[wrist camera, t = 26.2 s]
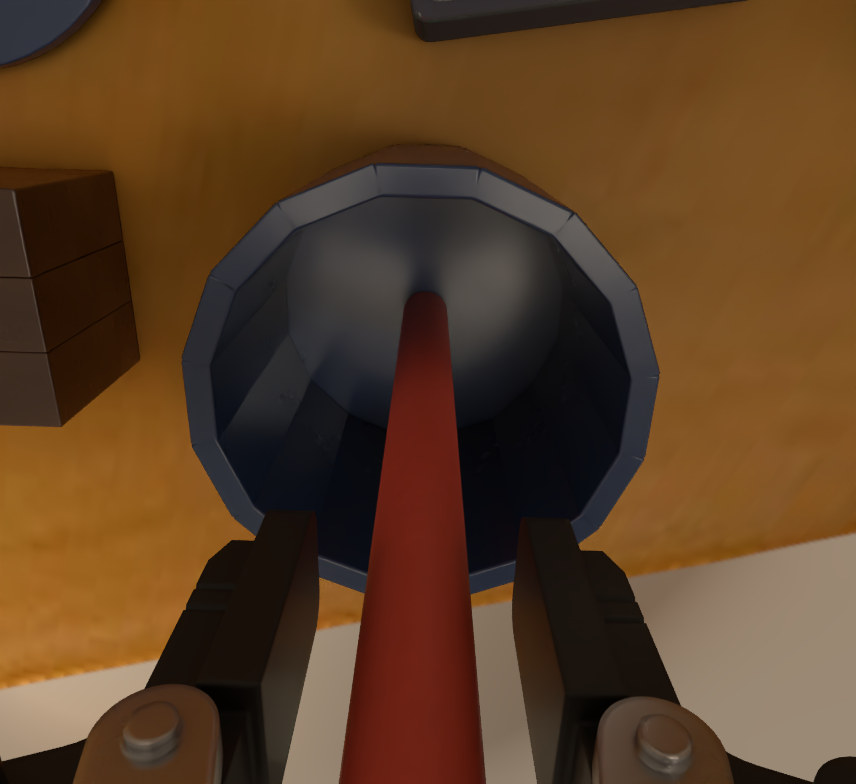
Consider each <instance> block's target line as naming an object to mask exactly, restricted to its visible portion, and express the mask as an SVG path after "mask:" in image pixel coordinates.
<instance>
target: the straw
mask: <svg viewBox="0 0 856 784" xmlns="http://www.w3.org/2000/svg"><path fill="white" fill-rule="evenodd" d="M339 784H486V778H485V767H484V754H483V742H482V729H481V717H480V706H479V694H478V681H477V669H476V656H475V644H474V632H473V620H472V608H471V596H470V584H469V572H468V559H467V547H466V535H465V523H464V511H463V499H462V487H461V474H460V462H459V450H458V438H457V426H456V414H455V402H454V389H453V377H452V365H451V353H450V341H449V329H448V317H447V308H446V305H445V303H444V301H443V300H442V299H441V298H440V297H439V296H438V295H436V294H434V293H432V292H419V293H416V294H414V295H413V296H411V297H410V298H409V299H408V300H407V302H406V304H405V306H404V311H403V319H402V326H401V333H400V340H399V348H398V355H397V362H396V370H395V377H394V384H393V391H392V399H391V406H390V413H389V421H388V428H387V435H386V443H385V450H384V457H383V464H382V472H381V479H380V486H379V494H378V501H377V508H376V516H375V523H374V530H373V537H372V545H371V552H370V559H369V567H368V574H367V581H366V589H365V596H364V603H363V610H362V618H361V625H360V633H359V640H358V647H357V654H356V662H355V669H354V676H353V683H352V691H351V699H350V705H349V713H348V720H347V727H346V735H345V742H344V749H343V756H342V764H341V771H340V778H339Z"/></svg>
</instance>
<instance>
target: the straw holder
mask: <svg viewBox="0 0 856 784" xmlns="http://www.w3.org/2000/svg"><path fill="white" fill-rule="evenodd" d="M121 240H122V233H121V226H120V219H119V212H118V205H117V198H116V191H115V185H114V178H113V173H112V172H111V171H97V170H67V169H37V168H7V167H0V425H12V426H46V427H62V426H63V425H64V424H65V423H67V422H68V421H69V420H70V419H71V418H72V417H74V416H75V415H76V414H77V413H78V412H80V411H81V410H82V409H83V408H84V407H85V406H87V405H88V404H89V403H90V402H91V401H92V400H94V399H95V398H96V397H97V396H98V395H100V394H101V393H102V392H103V391H104V390H105V389H107V388H108V387H109V386H110V385H111V384H112V383H114V382H115V381H116V380H117V379H118V378H120V377H121V376H122V375H123V374H124V373H125V372H127V371H128V370H129V369H130V368H131V367H132V366H134V365H135V364H136V363H137V362H138V361H139V360H140V358H139V351H138V344H137V337H136V330H135V323H134V316H133V309H132V302H131V301H130V300H131V295H130V288H129V281H128V274H127V267H126V260H125V253H124V246H123V242H122V241H121Z"/></svg>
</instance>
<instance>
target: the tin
mask: <svg viewBox="0 0 856 784" xmlns="http://www.w3.org/2000/svg"><path fill="white" fill-rule="evenodd" d="M419 292H432V293H434V294H436V295H438V296H439V297H440V298H441V299H442V300H443V301H444V303H445V305H446V308H447V317H448V329H449V341H450V353H451V365H452V377H453V389H454V402H455V414H456V426H457V438H458V450H459V462H460V474H461V487H462V499H463V511H464V523H465V535H466V547H467V559H468V572H469V584H470V594H474V593H477V592H480V591H484V590H487V589H490V588H494V587H497V586H500V585H504V584H507V583H510V582H514V577H515V567H516V557H517V547H518V536H519V527H520V522H521V519H522V517H536V518H568V519H569V520H570V522H571V525H572V528H573V531H574V534H575V537H576V540H577V542H578V544H579V543H580V542H581V541H583V540H584V539H586V538H587V537H588V536H590V535H591V534H593V533H594V532H595V531H597V530H598V529H599V527H600V526H601V525H602V524H603V522H604V521H605V519H606V517H607V516H608V514H609V513H610V511H611V510H612V508H613V507H614V505H615V504H616V502H617V501H618V499H619V498H620V496H621V495H622V493H623V491H624V490H625V488H626V487H627V485H628V484H629V482H630V481H631V479H632V478H633V476H634V475H635V473H636V472H637V470H638V468H639V467H640V465H641V464H642V462H643V461H644V457H645V455H646V449H647V444H648V438H649V432H650V427H651V421H652V416H653V410H654V404H655V399H656V393H657V387H658V382H659V374H660V371H659V367H658V363H657V360H656V356H655V352H654V348H653V344H652V340H651V337H650V333H649V329H648V325H647V321H646V317H645V314H644V310H643V306H642V302H641V298H640V295H639V291H638V288H637V286H636V284H635V283H634V282H633V281H632V279H631V278H630V277H629V276H628V275H627V273H626V272H625V271H624V270H623V269H622V267H621V266H620V265H619V264H618V263H617V261H616V260H615V259H614V258H613V257H612V255H611V254H610V253H609V252H608V251H607V249H606V248H605V247H604V246H603V245H602V243H601V242H600V241H599V240H598V239H597V237H596V236H595V235H594V234H593V233H592V231H591V230H590V229H589V228H588V226H587V225H586V224H585V223H584V222H583V220H582V219H581V218H580V217H579V216H578V214H577V213H575V212H574V211H573V210H571V209H570V208H568V207H567V206H565V205H564V204H562V203H561V202H559V201H558V200H557V199H555V198H554V197H552V196H551V195H549V194H548V193H546V192H545V191H544V190H542V189H541V188H539V187H538V186H536V185H535V184H533V183H532V182H530V181H529V180H528V179H526V178H525V177H523V176H522V175H520V174H518V173H516V172H514V171H512V170H510V169H508V168H506V167H504V166H502V165H500V164H498V163H496V162H494V161H492V160H490V159H487V158H485V157H483V156H481V155H479V154H477V153H475V152H473V151H471V150H469V149H467V148H462V147H460V146H437V145H403V144H397V145H391V146H389V147H386V148H384V149H381V150H379V151H376V152H374V153H372V154H369V155H366V156H364V157H362V158H359V159H357V160H354V161H352V162H349V163H347V164H344V165H342V166H339V167H337V168H335V169H333V170H331V171H329V172H327V173H326V174H324V175H322V176H321V177H319V178H317V179H315V180H314V181H312V182H310V183H308V184H307V185H305V186H303V187H302V188H300V189H298V190H296V191H295V192H293V193H291V194H289V195H288V196H286V197H284V198H283V199H281V200H279V201H278V202H277V203H275V204H274V205H273V206H272V207H271V208H270V209H269V210H268V211H267V212H266V213H265V214H264V215H263V216H262V217H261V219H260V220H259V221H258V222H257V223H256V224H255V225H254V226H253V227H252V228H251V229H250V230H249V231H248V232H247V233H246V234H245V235H244V236H243V238H242V239H241V240H240V241H239V242H238V243H237V244H236V245H235V246H234V247H233V248H232V249H231V250H230V251H229V252H228V253H227V254H226V255H225V257H224V258H223V259H222V260H221V261H220V262H219V263H218V264H217V265H216V266H215V267H214V268H213V269H212V270H211V272H210V274H209V275H208V278H207V281H206V284H205V287H204V290H203V293H202V296H201V300H200V303H199V306H198V309H197V312H196V315H195V318H194V321H193V324H192V327H191V330H190V333H189V336H188V339H187V342H186V345H185V348H184V351H183V354H182V359H183V360H182V370H183V379H184V387H185V396H186V404H187V413H188V421H189V430H190V438H191V443H192V448H193V450H194V451H195V453H196V455H197V457H198V458H199V460H200V462H201V464H202V465H203V467H204V469H205V471H206V472H207V474H208V476H209V477H210V479H211V481H212V483H213V484H214V486H215V488H216V490H217V491H218V493H219V495H220V497H221V498H222V500H223V502H224V504H225V505H226V507H227V509H228V510H229V512H230V514H231V516H232V517H234V519H235V520H237V521H238V522H239V523H240V524H242V525H243V526H244V527H245V528H246V529H248V530H249V531H250V532H251V533H253V534H254V535H255V536H257V533H258V531H259V528H260V526H261V523H262V521H263V519H264V516H265V514H266V512H267V511H268V510H269V509H272V510H307V511H315V513H316V519H317V538H318V564H319V577H320V578H323V579H326V580H329V581H331V582H334V583H337V584H340V585H343V586H345V587H348V588H351V589H354V590H356V591H359V592H362V593H365V589H366V581H367V574H368V567H369V559H370V552H371V545H372V537H373V530H374V523H375V516H376V508H377V501H378V494H379V486H380V479H381V472H382V464H383V457H384V450H385V443H386V435H387V428H388V421H389V413H390V406H391V399H392V391H393V384H394V377H395V370H396V362H397V355H398V348H399V340H400V333H401V326H402V319H403V311H404V306H405V304H406V302H407V300H408V299H409V298H410V297H411V296H413V295H414V294H416V293H419Z"/></svg>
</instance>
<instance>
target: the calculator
mask: <svg viewBox="0 0 856 784" xmlns="http://www.w3.org/2000/svg"><path fill="white" fill-rule="evenodd" d="M410 1H411V8H412V15H413V21H414V26H415V31H416V33H417V35H418V36H419V37H420V38H421V39H422V40H424V41H426V42H435V41H443V40H451V39H459V38H466V37H474V36H481V35H489V34H496V33H504V32H511V31H519V30H526V29H534V28H542V27H549V26H557V25H564V24H572V23H579V22H587V21H594V20H602V19H609V18H617V17H625V16H632V15H640V14H647V13H655V12H662V11H670V10H677V9H685V8H692V7H700V6H708V5H715V4H723V3H730V2H738V1H745V0H410Z"/></svg>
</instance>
